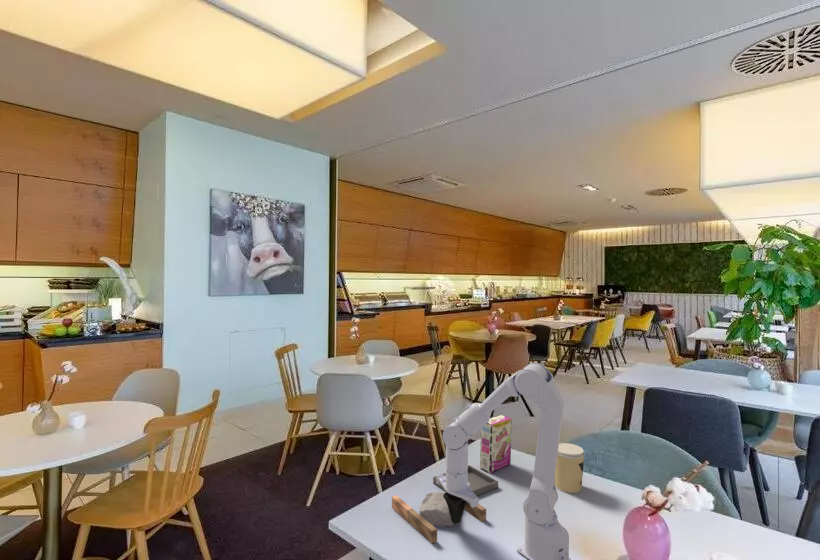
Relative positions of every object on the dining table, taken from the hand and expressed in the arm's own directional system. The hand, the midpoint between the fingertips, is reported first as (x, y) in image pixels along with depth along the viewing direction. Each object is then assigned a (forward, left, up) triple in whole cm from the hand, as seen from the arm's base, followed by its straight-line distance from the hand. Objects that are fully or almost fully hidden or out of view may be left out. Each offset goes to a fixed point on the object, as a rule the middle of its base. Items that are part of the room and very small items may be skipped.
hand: (456, 521), depth 107 cm
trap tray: (+15, -17, -2) cm, 23 cm away
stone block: (+8, 0, -2) cm, 8 cm away
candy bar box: (+19, -34, -2) cm, 39 cm away
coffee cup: (-3, -43, -2) cm, 43 cm away
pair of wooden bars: (+8, 0, -2) cm, 8 cm away
